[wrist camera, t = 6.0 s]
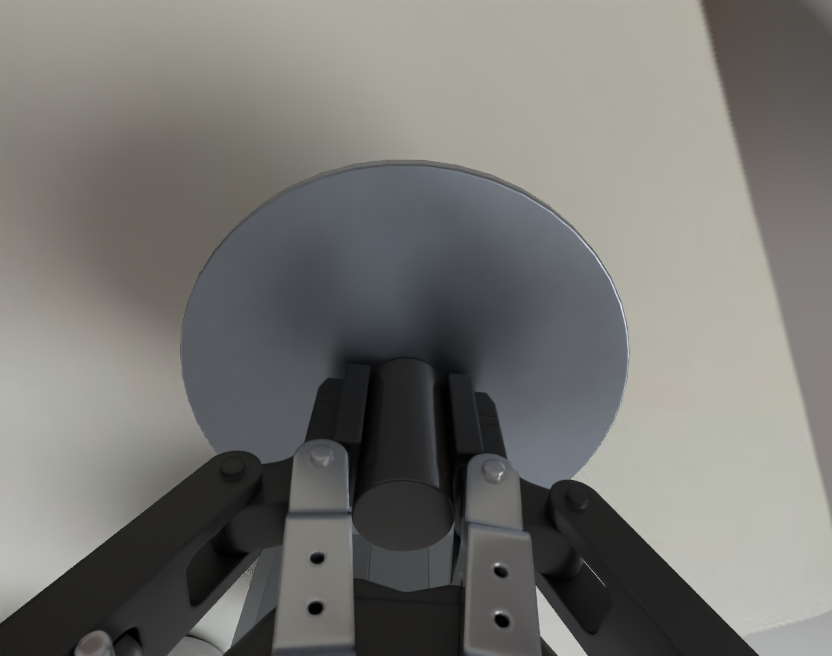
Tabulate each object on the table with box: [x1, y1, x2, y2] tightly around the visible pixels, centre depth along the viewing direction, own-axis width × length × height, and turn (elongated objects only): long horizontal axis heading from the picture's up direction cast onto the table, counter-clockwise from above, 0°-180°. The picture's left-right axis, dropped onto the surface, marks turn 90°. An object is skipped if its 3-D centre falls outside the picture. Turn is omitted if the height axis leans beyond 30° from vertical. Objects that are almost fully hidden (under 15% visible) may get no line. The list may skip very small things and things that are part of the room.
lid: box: [180, 160, 629, 551], centre depth 15 cm, size 14×14×6 cm
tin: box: [231, 534, 452, 647], centre depth 27 cm, size 13×13×8 cm
